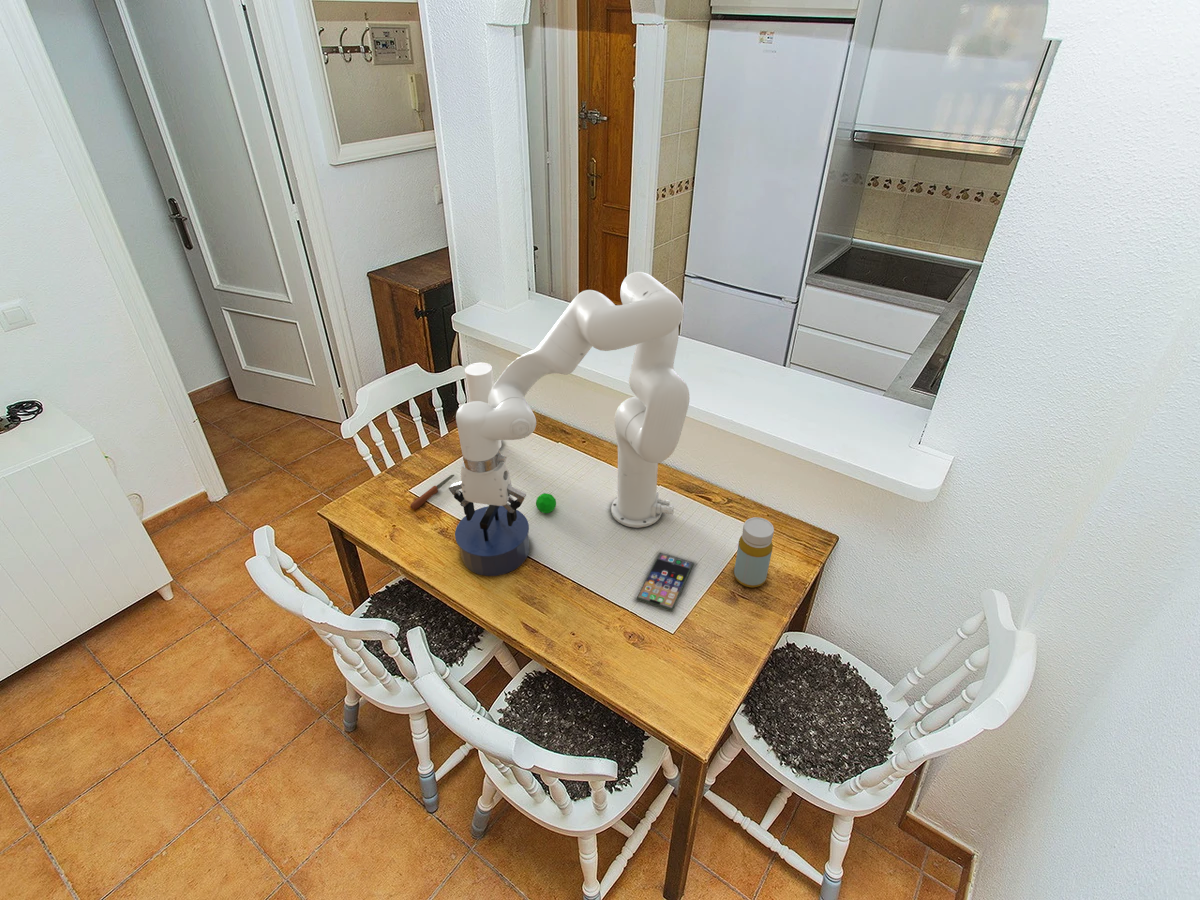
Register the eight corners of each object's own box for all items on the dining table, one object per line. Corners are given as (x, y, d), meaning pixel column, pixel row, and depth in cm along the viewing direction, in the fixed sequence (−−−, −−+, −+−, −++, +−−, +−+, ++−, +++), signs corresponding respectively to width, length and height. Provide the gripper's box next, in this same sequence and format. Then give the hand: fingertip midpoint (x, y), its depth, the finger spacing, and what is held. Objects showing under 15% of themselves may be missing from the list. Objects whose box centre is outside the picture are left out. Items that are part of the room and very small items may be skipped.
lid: (537, 513, 149) (535, 492, 145) (516, 564, 136) (513, 542, 132) (471, 505, 152) (467, 484, 148) (443, 553, 139) (439, 532, 135)
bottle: (759, 593, 136) (769, 543, 127) (728, 581, 139) (736, 531, 130) (770, 573, 141) (780, 523, 132) (740, 561, 144) (749, 511, 135)
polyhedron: (560, 512, 158) (559, 497, 155) (543, 519, 156) (542, 505, 153) (549, 501, 161) (548, 486, 159) (533, 508, 159) (531, 494, 156)
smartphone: (693, 564, 143) (693, 560, 142) (672, 612, 132) (672, 609, 131) (659, 554, 146) (660, 550, 145) (636, 601, 135) (636, 597, 134)
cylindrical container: (496, 454, 178) (486, 376, 164) (472, 451, 179) (460, 374, 165) (505, 440, 184) (495, 363, 169) (481, 437, 185) (470, 361, 170)
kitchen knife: (414, 511, 159) (413, 505, 158) (410, 510, 159) (409, 504, 158) (456, 478, 170) (455, 472, 168) (453, 476, 170) (452, 470, 169)
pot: (537, 532, 152) (535, 512, 148) (517, 581, 140) (514, 560, 136) (476, 524, 155) (472, 504, 151) (451, 571, 142) (446, 550, 139)
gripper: (526, 452, 133) (533, 513, 143) (449, 443, 136) (461, 503, 146) (515, 473, 127) (523, 535, 137) (435, 464, 130) (448, 525, 140)
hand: (491, 519), depth 141 cm, fingers open, 9 cm apart
